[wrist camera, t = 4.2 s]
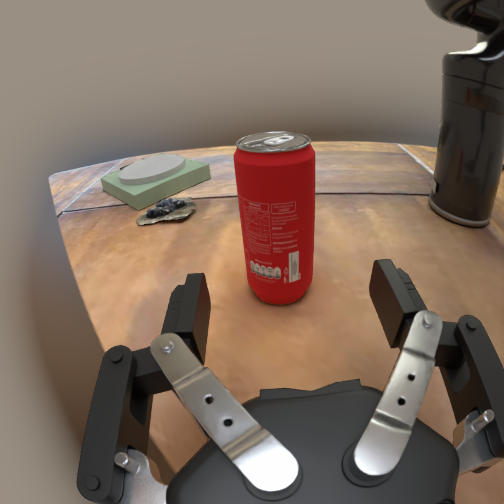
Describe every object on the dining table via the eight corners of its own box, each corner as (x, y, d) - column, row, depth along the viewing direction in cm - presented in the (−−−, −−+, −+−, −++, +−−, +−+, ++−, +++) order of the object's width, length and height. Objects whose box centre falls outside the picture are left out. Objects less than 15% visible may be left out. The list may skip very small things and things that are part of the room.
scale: (163, 164, 56) (160, 148, 54) (210, 178, 47) (207, 157, 45) (103, 190, 49) (98, 172, 47) (138, 211, 40) (132, 188, 38)
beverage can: (235, 288, 25) (215, 144, 19) (278, 259, 28) (271, 128, 21) (282, 319, 22) (276, 156, 15) (324, 283, 25) (330, 138, 18)
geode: (201, 217, 36) (199, 203, 35) (137, 235, 34) (133, 221, 33) (190, 197, 41) (188, 185, 40) (135, 212, 39) (131, 200, 38)
